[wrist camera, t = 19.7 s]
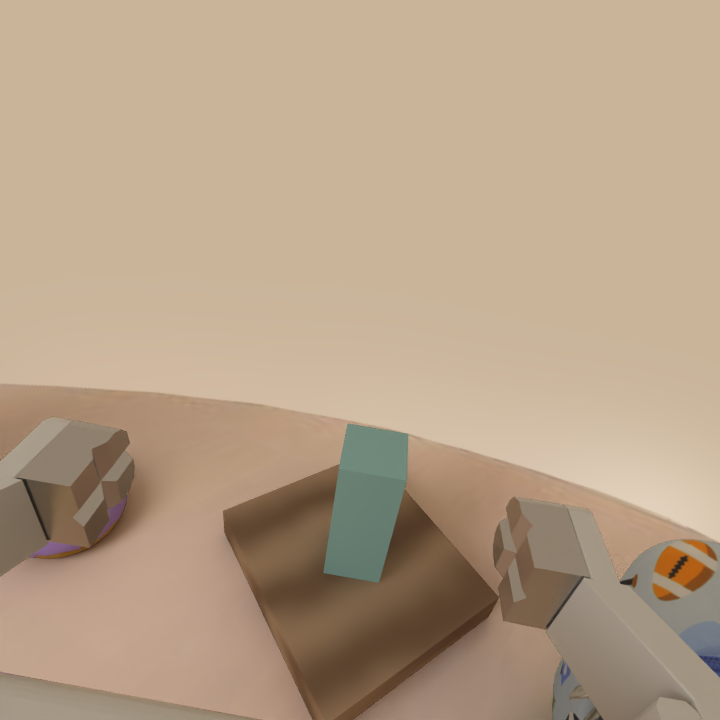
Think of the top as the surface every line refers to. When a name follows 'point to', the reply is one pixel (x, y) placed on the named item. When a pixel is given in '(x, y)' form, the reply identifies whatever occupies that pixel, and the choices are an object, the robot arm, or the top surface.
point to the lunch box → (663, 611)
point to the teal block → (366, 501)
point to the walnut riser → (352, 596)
